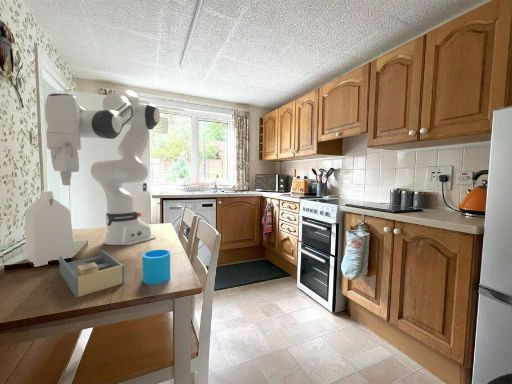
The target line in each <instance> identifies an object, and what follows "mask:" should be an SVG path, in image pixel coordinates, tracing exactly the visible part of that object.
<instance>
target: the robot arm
mask: <svg viewBox="0 0 512 384" xmlns="http://www.w3.org/2000/svg"><path fill="white" fill-rule="evenodd" d="M102 107H103V109H102V110H101V109H100V110H98V109H97V110H93V109H92V110H89V109H87V110H86V109H85V108H83V107H82V106H81V105H80V104H79V103H78V98H77V97H76V96H75V95H73V94H70V93H69V94H67V93H50V94H48V95H47V96H46V98H45V105H44V115H45V121H46V124H47V127H46V130H45V131H46V135H45V136H46V148H47V149H48V150H49V151H50V157H51V163H52V164H51V165H52V168H53V171H55V172H59V173H60V178H61V184H62V185H63V186H70V185H71V181H72V180H71V179H72V173H78V172H79V171H80V163H79V153H78V152H79V151H81V150H82V145H81V144H82V142H81V140H82V139H81V138H88V139H89V138H93V139H94V138H96V139H100V138H102V139H109V140H113V139H116V138H117V137H118V136H120V134H121V132H122V129H123V128H124V126H126V125H130V128H129V129H128V130H127V131H126V133H125V135H123V138H122V139H121V141H120V143H119V144H118V147H117V151H118V154H119V155H120V157H121V158H120V159H103V160H97V161H95V162H94V163H92V165H91V167H90V174H91V177H92V178H93V180H95V182H98V184H99V185H100V187H102V190H103V191H104V194H105V197H106V198H105V199H106V209H107V210H106V214H105V215H106V216H105V223H106V233H105V238H104V242H103V244H104V245H108V246H130V245H131V246H132V245H134V244H139V243H143V242H147V241H150V240H154V239H156V238H157V236H156V234H154V233H152V231H151V227H150V226H149V224H147V223H145V222H144V221H143V220H142V219H140V217H141V216H142V213H141V212H140V211H138V212H137V211H135V208H134V207H135V205H134V204H135V201H134V195H133V194H132V193H131V192H130V191H128V190H127V189H126V188H125V186H124V184H134V185H135V184H138V183H143V182H144V181H146V179H147V177H148V175H149V170H148V167H147V165H146V163H144V162H143V161H142V160H143V159H142V157H143V155H144V152H145V150H146V148H147V146H148V142H149V138H150V131H151V130H153V129H154V128H155V127H156V126H157V125H158V124H159V122H160V118H161V117H160V116H161V115H160V111H159V108H158V107H157V106H156V105H153V104H149V103H148V104H147V103H141V102H140V99H139V97H138V95H137V93H135V92H134V91H133V90H130V89H120V90H117V91H114V92H111V93H108V94H106V96H104V97H103V99H102ZM149 130H150V131H149ZM138 217H139V218H138Z"/></svg>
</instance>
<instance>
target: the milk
mask: <svg viewBox="0 0 512 384" xmlns="http://www.w3.org/2000/svg"><path fill="white" fill-rule="evenodd" d="M53 193H54V192H53V190H48V189H47V190H44V189H43V190H42V191H41V196H40V198H39V199H36V200H35V201H34V202H32V203H31V205H30V206H28V208H26V209H25V212H24V220H25V221H24V230H25V231H24V234H25V235H24V239H25V240H24V241H25V242H24V249H25V250H24V255H25V256H24V258H25V259H27V260H29V261H31V262H33V264H34V265H33V266H34V267H35V268H36V267H40V266H45V265H49V264H48V261H50V260H53V259H58V258H59V257H61V256H62V258H63V257H67V256H71V255H75V248H74V246H75V245H74V236H73V225H72V215H71V211H70V209H69V208H68V207H66V206H65V205H64V204H62V203H60V202H59V201H57V200H56V199H55V197H54V194H53ZM27 260H26V261H27Z"/></svg>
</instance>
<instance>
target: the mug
mask: <svg viewBox="0 0 512 384" xmlns="http://www.w3.org/2000/svg"><path fill="white" fill-rule="evenodd" d="M170 279H171V251H170V250H168V249H153V250H148V251H146V252H144V253H143V254H142V282H143V283H145V284H146V285H158V284H162V283H165V282H168V281H169V280H170Z"/></svg>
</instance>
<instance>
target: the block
mask: <svg viewBox="0 0 512 384" xmlns="http://www.w3.org/2000/svg"><path fill="white" fill-rule="evenodd" d="M77 267H78V276H81V275H85V274H89V273H93V272H97V271H98V265H97V264H95V263H94V262H93V263H88V264H84V265H79V266H77Z"/></svg>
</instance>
